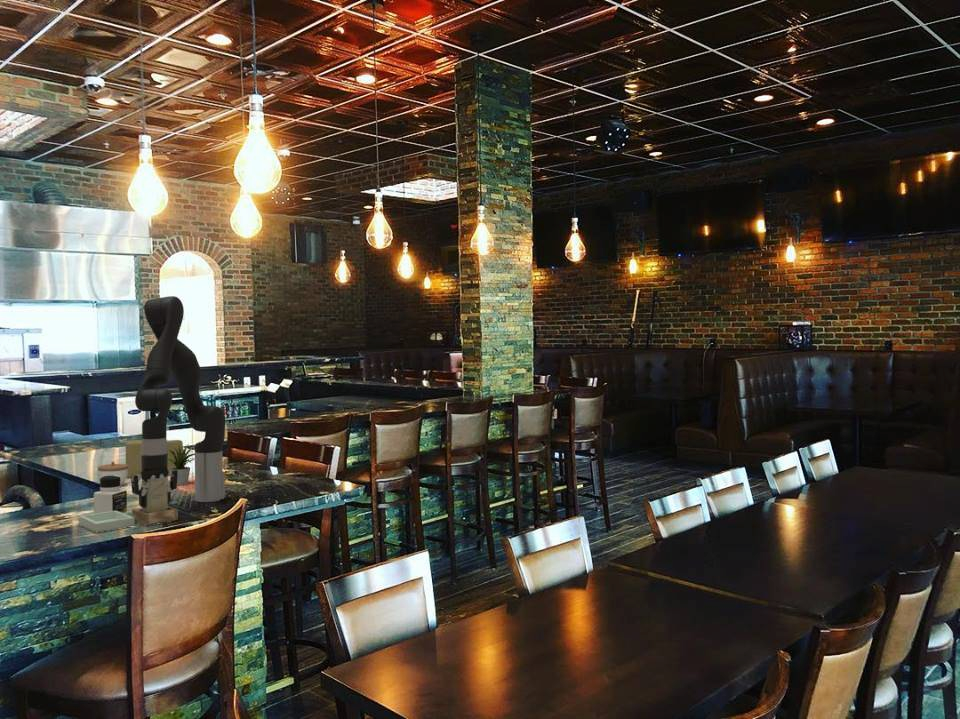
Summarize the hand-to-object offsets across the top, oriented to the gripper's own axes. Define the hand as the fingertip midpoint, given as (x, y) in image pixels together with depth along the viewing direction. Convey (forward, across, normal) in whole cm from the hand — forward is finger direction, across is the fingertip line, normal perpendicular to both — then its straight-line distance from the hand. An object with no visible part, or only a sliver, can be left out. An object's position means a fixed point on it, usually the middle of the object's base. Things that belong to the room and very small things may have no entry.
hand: (154, 505), depth 239 cm
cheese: (+5, -35, -78) cm, 86 cm away
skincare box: (+4, 0, 0) cm, 4 cm away
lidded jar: (+5, -14, -69) cm, 70 cm away
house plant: (+5, -33, -53) cm, 63 cm away
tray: (+5, +13, -4) cm, 14 cm away
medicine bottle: (+5, +5, -22) cm, 23 cm away
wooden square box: (+5, 0, 0) cm, 5 cm away
